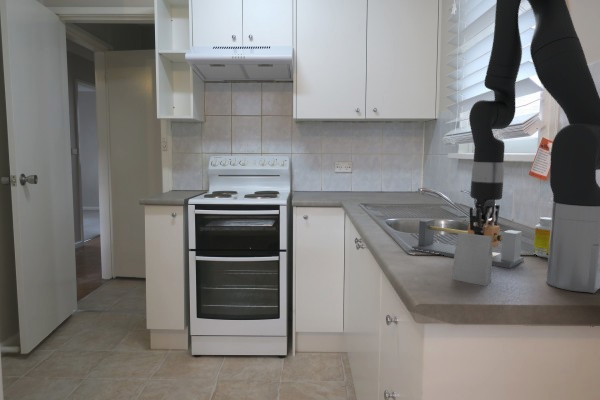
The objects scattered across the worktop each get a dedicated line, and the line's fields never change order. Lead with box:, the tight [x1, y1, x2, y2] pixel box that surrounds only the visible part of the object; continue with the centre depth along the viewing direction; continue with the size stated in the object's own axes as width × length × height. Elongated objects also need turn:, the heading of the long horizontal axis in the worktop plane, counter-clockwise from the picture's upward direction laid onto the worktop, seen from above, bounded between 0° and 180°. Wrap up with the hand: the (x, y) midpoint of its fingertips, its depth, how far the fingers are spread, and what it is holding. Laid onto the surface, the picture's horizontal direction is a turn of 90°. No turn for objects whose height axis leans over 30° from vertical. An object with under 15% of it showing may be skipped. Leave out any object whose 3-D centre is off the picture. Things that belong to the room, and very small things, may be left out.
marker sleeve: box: [467, 224, 501, 249], centre depth 113 cm, size 6×5×5 cm
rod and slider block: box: [411, 218, 525, 269], centre depth 117 cm, size 26×10×8 cm, turn 46°
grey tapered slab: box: [452, 233, 493, 287], centre depth 93 cm, size 4×7×10 cm, turn 53°
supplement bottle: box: [532, 216, 552, 259], centre depth 118 cm, size 6×6×10 cm
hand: (482, 245), depth 114 cm, fingers closed on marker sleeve, 5 cm apart
